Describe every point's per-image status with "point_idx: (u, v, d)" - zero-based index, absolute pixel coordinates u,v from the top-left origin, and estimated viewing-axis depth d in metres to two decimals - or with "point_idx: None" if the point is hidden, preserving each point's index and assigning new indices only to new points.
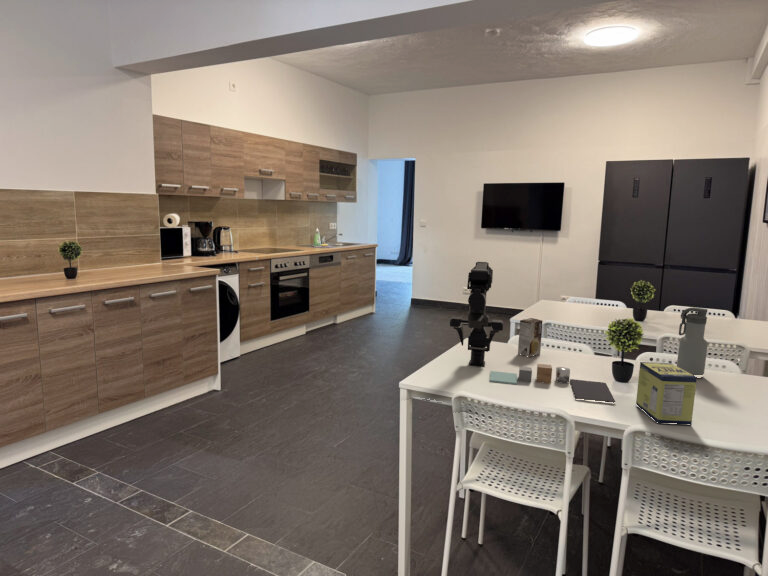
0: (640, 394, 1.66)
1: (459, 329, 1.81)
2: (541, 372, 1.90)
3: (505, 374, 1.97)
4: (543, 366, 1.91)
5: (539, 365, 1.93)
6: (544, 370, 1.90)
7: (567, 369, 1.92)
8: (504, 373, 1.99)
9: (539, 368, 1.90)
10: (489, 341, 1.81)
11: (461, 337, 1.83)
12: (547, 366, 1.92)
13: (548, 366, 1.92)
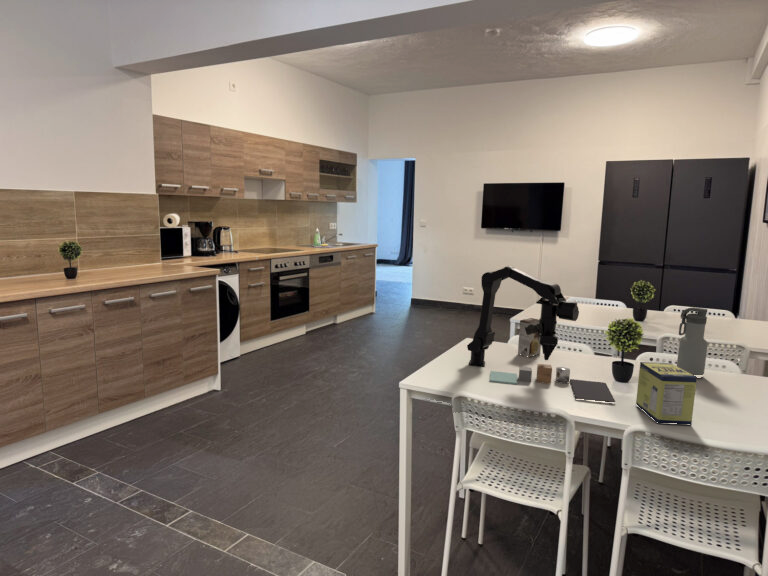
0: (640, 394, 1.66)
1: (538, 336, 1.97)
2: (541, 372, 1.90)
3: (505, 374, 1.97)
4: (543, 366, 1.91)
5: (539, 365, 1.93)
6: (544, 370, 1.90)
7: (567, 369, 1.92)
8: (504, 373, 1.99)
9: (539, 368, 1.90)
10: (543, 353, 1.87)
11: None
12: (547, 366, 1.92)
13: (548, 366, 1.92)
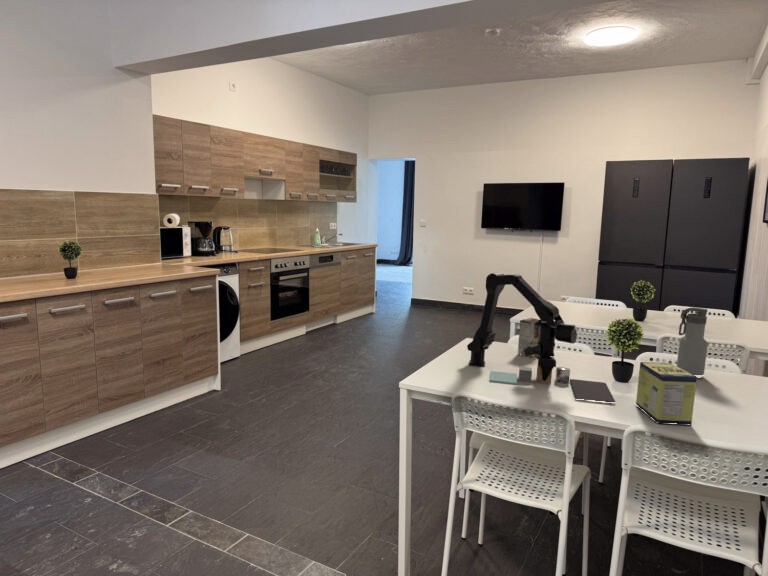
0: (640, 394, 1.66)
1: (537, 358, 1.96)
2: (541, 372, 1.90)
3: (505, 374, 1.97)
4: None
5: None
6: None
7: (567, 369, 1.92)
8: (504, 373, 1.99)
9: (539, 368, 1.90)
10: (542, 373, 1.90)
11: None
12: None
13: None
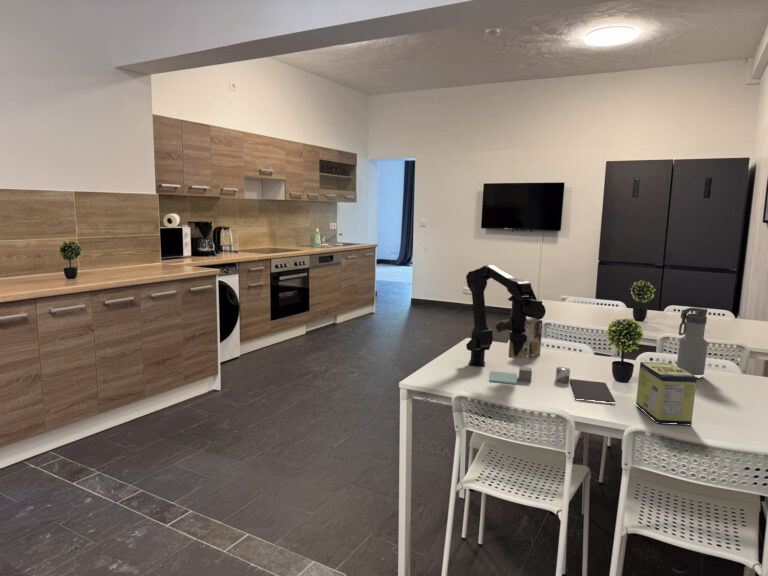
0: (640, 394, 1.66)
1: None
2: None
3: (505, 374, 1.97)
4: None
5: None
6: None
7: (567, 369, 1.92)
8: (504, 373, 1.99)
9: (511, 343, 1.90)
10: None
11: None
12: None
13: None
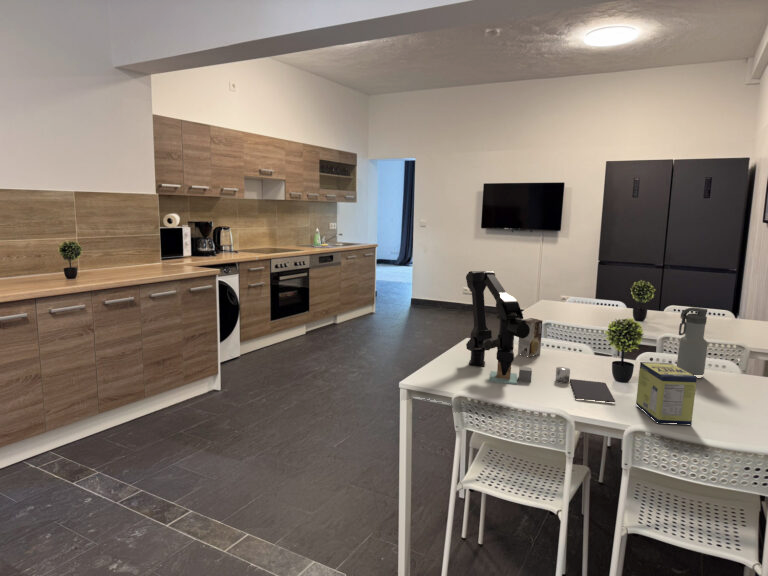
0: (640, 394, 1.66)
1: None
2: None
3: None
4: None
5: None
6: None
7: (567, 369, 1.92)
8: None
9: (498, 364, 1.92)
10: (501, 368, 1.89)
11: None
12: None
13: None
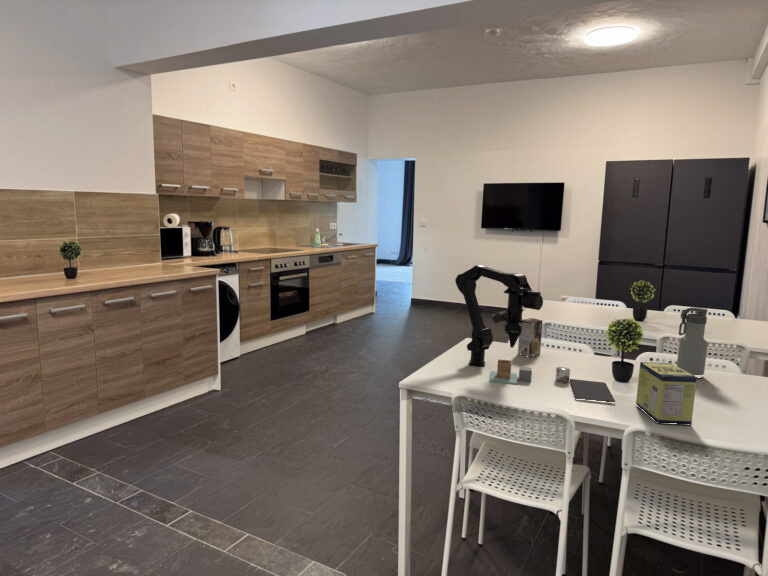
0: (640, 394, 1.66)
1: None
2: (501, 368, 1.92)
3: None
4: (503, 362, 1.93)
5: (499, 361, 1.94)
6: (503, 365, 1.92)
7: (567, 369, 1.92)
8: None
9: (498, 364, 1.92)
10: (509, 340, 1.94)
11: None
12: (506, 362, 1.93)
13: (508, 362, 1.93)
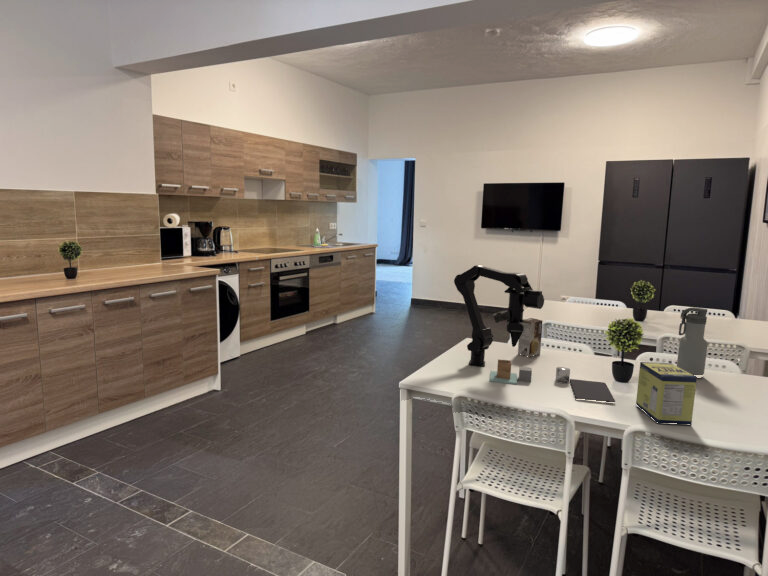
0: (640, 394, 1.66)
1: None
2: (501, 368, 1.92)
3: None
4: (503, 362, 1.93)
5: (499, 361, 1.94)
6: (503, 365, 1.92)
7: (567, 369, 1.92)
8: None
9: (498, 364, 1.92)
10: (511, 340, 1.95)
11: None
12: (506, 362, 1.93)
13: (508, 362, 1.93)
